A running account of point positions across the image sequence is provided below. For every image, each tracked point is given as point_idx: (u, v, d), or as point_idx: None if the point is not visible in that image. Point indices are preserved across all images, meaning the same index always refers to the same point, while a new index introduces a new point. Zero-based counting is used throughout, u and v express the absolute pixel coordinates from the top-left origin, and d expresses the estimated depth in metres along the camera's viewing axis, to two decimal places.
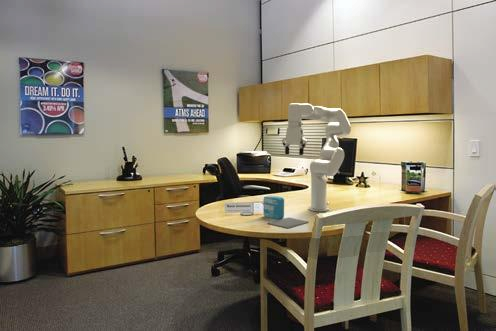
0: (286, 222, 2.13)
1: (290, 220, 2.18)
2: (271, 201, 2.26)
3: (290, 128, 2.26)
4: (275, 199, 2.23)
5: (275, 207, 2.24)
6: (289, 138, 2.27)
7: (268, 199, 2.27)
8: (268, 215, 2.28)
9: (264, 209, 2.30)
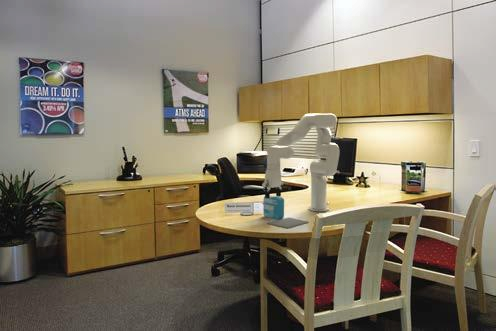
0: (286, 222, 2.13)
1: (290, 220, 2.18)
2: (271, 201, 2.26)
3: (275, 171, 2.23)
4: (275, 199, 2.23)
5: (275, 207, 2.24)
6: (274, 181, 2.23)
7: (268, 199, 2.27)
8: (268, 215, 2.28)
9: (264, 209, 2.30)
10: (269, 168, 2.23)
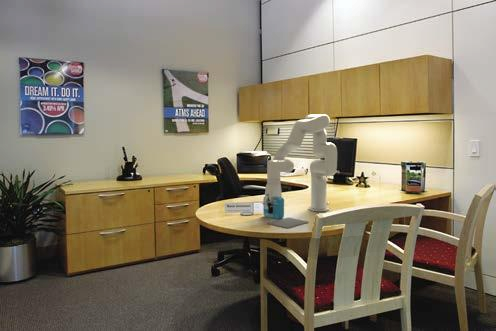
0: (286, 222, 2.13)
1: (290, 220, 2.18)
2: None
3: (275, 185, 2.24)
4: (275, 199, 2.23)
5: (275, 207, 2.24)
6: (275, 195, 2.24)
7: None
8: (268, 215, 2.28)
9: (264, 209, 2.30)
10: (269, 182, 2.24)
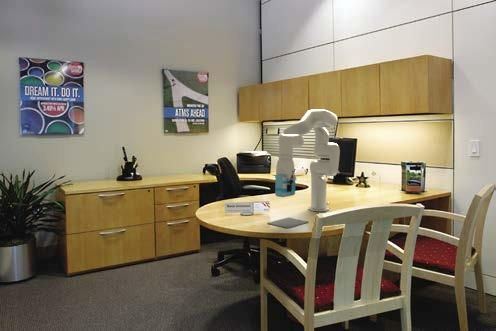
0: (286, 222, 2.13)
1: (290, 220, 2.18)
2: None
3: None
4: None
5: None
6: None
7: None
8: (285, 195, 2.12)
9: (282, 189, 2.10)
10: (291, 158, 2.11)
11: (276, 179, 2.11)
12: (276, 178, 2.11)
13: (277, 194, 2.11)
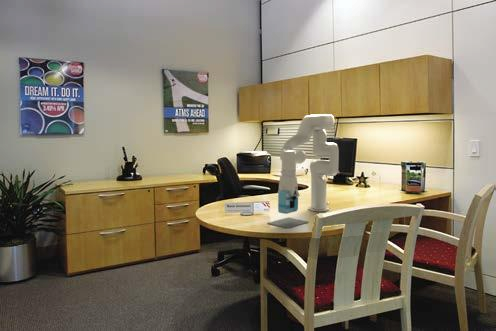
0: (286, 222, 2.13)
1: (290, 220, 2.18)
2: None
3: None
4: None
5: None
6: None
7: None
8: (288, 211, 2.10)
9: (285, 206, 2.08)
10: (294, 174, 2.09)
11: (279, 195, 2.09)
12: (279, 194, 2.09)
13: (280, 210, 2.09)
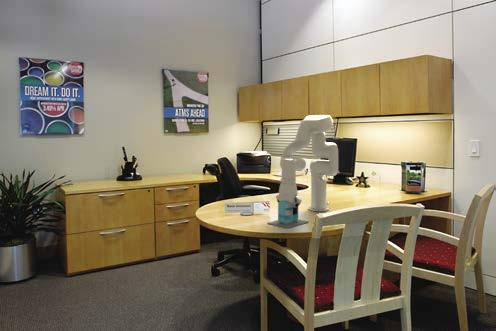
0: None
1: None
2: (291, 205, 2.12)
3: None
4: None
5: None
6: None
7: (289, 204, 2.10)
8: (288, 221, 2.11)
9: (285, 216, 2.09)
10: (294, 182, 2.09)
11: (279, 206, 2.10)
12: (279, 205, 2.10)
13: (280, 221, 2.10)
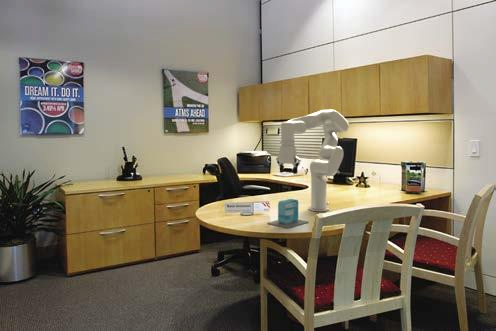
0: None
1: None
2: (291, 205, 2.12)
3: None
4: (295, 201, 2.14)
5: (295, 209, 2.14)
6: None
7: (289, 204, 2.10)
8: (288, 221, 2.11)
9: (285, 216, 2.09)
10: (293, 144, 2.23)
11: (279, 206, 2.10)
12: (279, 205, 2.10)
13: (280, 221, 2.10)
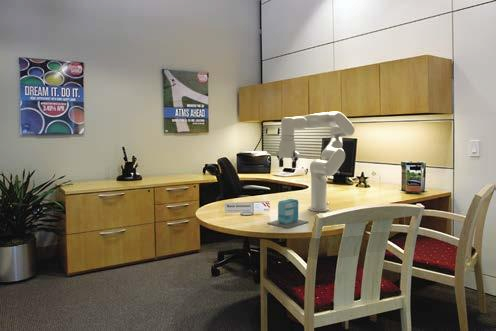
0: None
1: None
2: (291, 205, 2.12)
3: None
4: (295, 201, 2.14)
5: (295, 209, 2.14)
6: None
7: (289, 204, 2.10)
8: (288, 221, 2.11)
9: (285, 216, 2.09)
10: (292, 139, 2.28)
11: (279, 206, 2.10)
12: (279, 205, 2.10)
13: (280, 221, 2.10)
